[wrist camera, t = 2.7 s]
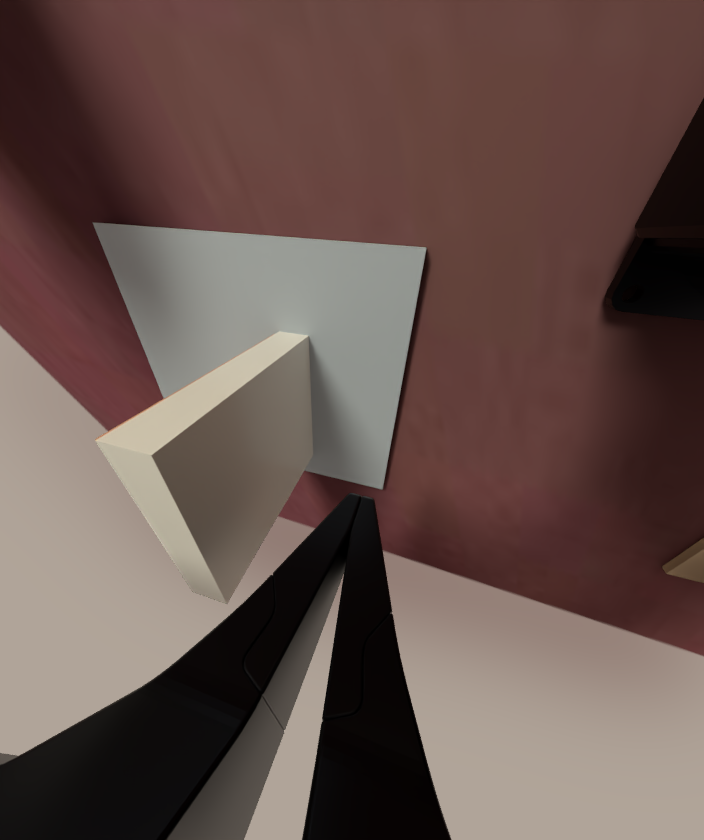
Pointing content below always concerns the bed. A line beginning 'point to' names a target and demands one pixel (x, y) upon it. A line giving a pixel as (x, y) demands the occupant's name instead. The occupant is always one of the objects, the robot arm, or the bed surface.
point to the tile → (220, 460)
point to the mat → (279, 322)
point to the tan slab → (688, 563)
